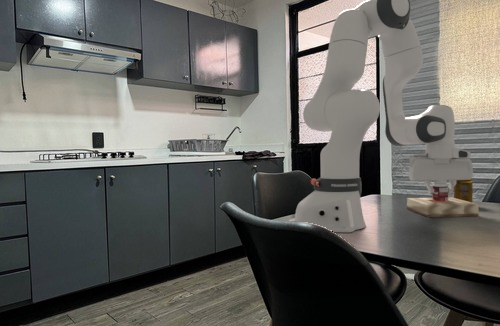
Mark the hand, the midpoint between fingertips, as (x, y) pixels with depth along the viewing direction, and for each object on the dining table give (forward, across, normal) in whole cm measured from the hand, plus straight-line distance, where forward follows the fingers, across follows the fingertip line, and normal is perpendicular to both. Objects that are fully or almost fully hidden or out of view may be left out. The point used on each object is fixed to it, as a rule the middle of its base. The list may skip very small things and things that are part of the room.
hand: (440, 193), depth 119 cm
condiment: (+7, +14, +12) cm, 19 cm away
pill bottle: (+4, 0, 0) cm, 4 cm away
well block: (+6, 0, 0) cm, 6 cm away
